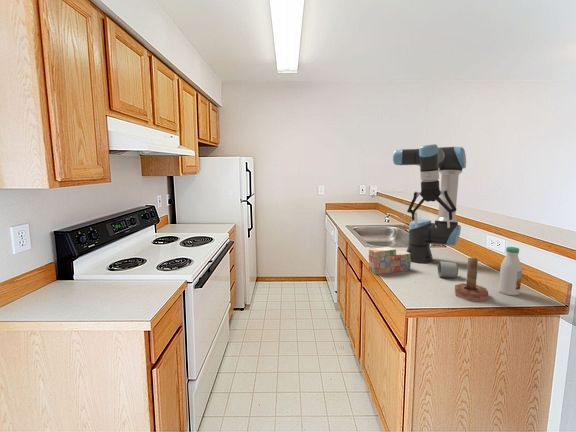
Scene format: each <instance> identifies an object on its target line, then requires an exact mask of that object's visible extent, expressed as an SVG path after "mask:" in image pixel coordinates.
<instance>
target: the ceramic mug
mask: <svg viewBox="0 0 576 432" xmlns="http://www.w3.org/2000/svg"><path fill="white" fill-rule="evenodd" d="M437 274H438V277H439V278H454V279H455V278H457V277H458V274H459V266H458V264H457V263H455V262H450V261H441V260H440V261H439V262H438V265H437Z"/></svg>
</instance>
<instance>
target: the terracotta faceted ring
mask: <svg viewBox="0 0 576 432" xmlns="http://www.w3.org/2000/svg"><path fill="white" fill-rule="evenodd" d="M466 284H467V283H458V284H455V285H454V295H455V296H456V297H458V298H461V299H463V300H466V301H474V302H482V301H485V300H489V291H488V289H487V288H486V287H484V286H481V285H478V284H476V291H469V290H466Z"/></svg>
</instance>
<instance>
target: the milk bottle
mask: <svg viewBox="0 0 576 432" xmlns="http://www.w3.org/2000/svg"><path fill="white" fill-rule="evenodd" d="M505 248H506V249H505V251H506V252H505V253H506V255H505V258H504V259H503V260H502V262H501V264H500V269H499V270H500V271H499V283H498V291H499V293H501V294H503V295H506V296H515V297H516V296H519V295H520V293H521V284H522V273H523V268H522V263H521V260H520V258H519V254H520V248H519V247H516V246H507V247H505Z"/></svg>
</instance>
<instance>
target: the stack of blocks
mask: <svg viewBox="0 0 576 432" xmlns="http://www.w3.org/2000/svg"><path fill="white" fill-rule="evenodd" d="M406 251H407V250H401V251H400V250H398V251H397V248H394V247H391V246H386V247H385V246H384V247H376V248H369V249H368V271H369V272H370V273H372V274H373V275H379V274H389V273H398V272H404V271H411V265H412V264H411V263H412V262H411V253H408V252H406Z"/></svg>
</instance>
